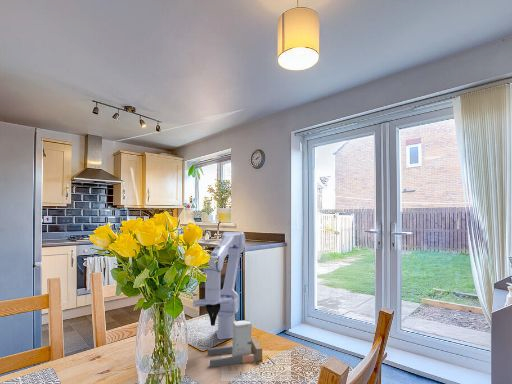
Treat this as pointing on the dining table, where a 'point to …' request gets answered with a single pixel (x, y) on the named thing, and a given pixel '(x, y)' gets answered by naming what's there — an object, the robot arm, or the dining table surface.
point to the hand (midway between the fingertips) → (212, 324)
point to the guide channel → (255, 356)
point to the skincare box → (241, 338)
